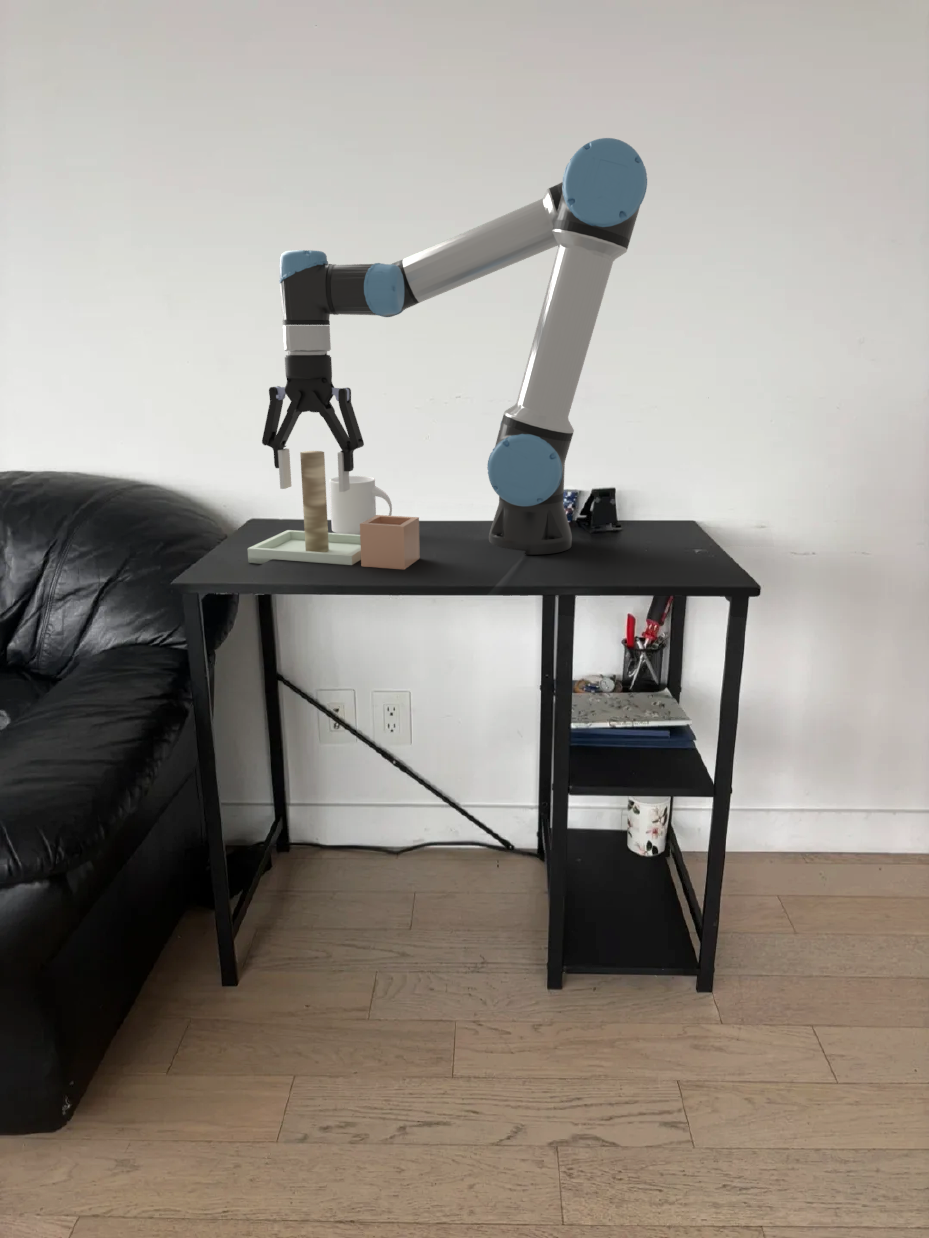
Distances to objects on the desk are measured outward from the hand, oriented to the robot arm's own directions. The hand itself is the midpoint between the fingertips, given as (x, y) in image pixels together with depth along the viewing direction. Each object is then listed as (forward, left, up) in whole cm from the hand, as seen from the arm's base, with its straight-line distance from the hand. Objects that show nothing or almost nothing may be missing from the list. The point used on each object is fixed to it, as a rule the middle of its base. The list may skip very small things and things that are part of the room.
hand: (314, 489), depth 150 cm
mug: (-1, -18, -12) cm, 22 cm away
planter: (-15, +4, -12) cm, 19 cm away
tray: (0, 0, -12) cm, 12 cm away
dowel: (0, 0, -11) cm, 11 cm away
